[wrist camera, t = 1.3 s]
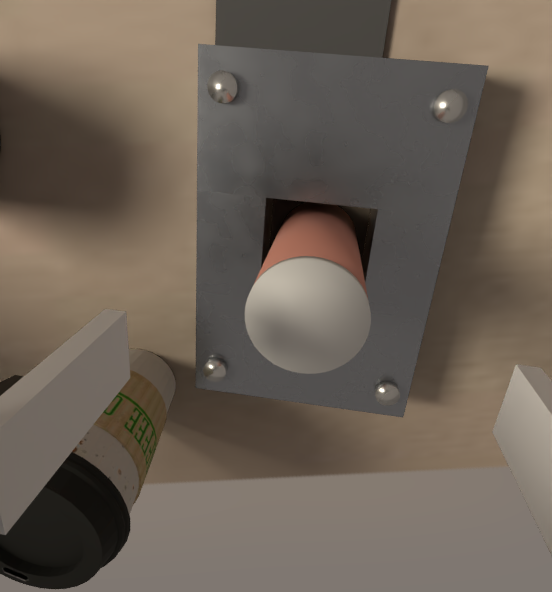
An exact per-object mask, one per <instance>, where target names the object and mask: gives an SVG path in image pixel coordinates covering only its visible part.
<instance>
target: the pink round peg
mask: <svg viewBox="0 0 552 592" xmlns="http://www.w3.org/2000/svg"><path fill="white" fill-rule="evenodd" d="M245 324H246V329H247V332H248V335H249V337H250V339H251V341H252V343H253V344H254V346H255V347H256V349H257V350H258V351H259V352H260V353H261V354H262V355H263V356H264V357H265V358H266V359H268V360H269V361H270V362H272V363H273V364H275V365H277V366H279V367H281V368H283V369H286V370H289V371H292V372H297V373H304V374H316V373H323V372H327V371H331V370H333V369H336V368H338V367H340V366H342V365H344V364H346V363H347V362H348V361H350V360H351V359H352V358H353V357H354V356H355V355H356V354H357V353H358V352H359V351H360V350H361V348H362V347H363V345H364V343H365V342H366V339H367V337H368V334H369V330H370V325H371V312H370V306H369V301H368V296H367V290H366V285H365V280H364V274H363V269H362V263H361V258H360V253H359V247H358V242H357V236H356V231H355V227H354V224H353V222H352V220H351V219H350V217H349V216H348V214H347V213H346V212H345V211H344V210H342V209H341V208H340V207H338V206H337V205H333V204H323V203H314V202H306V203H304V204H301V205H299V206H297V207H296V208H294V209H293V210H292V211H291V212H290V213H289V214H288V215H287V216H286V218H285V219H284V221H283V223H282V225H281V227H280V229H279V232H278V234H277V236H276V238H275V240H274V242H273V244H272V246H271V249H270V251H269V253H268V255H267V257H266V259H265V261H264V263H263V266H262V268H261V270H260V272H259V274H258V276H257V278H256V280H255V283H254V285H253V287H252V289H251V291H250V293H249V296H248V298H247V302H246V305H245Z"/></svg>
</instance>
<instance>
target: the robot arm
mask: <svg viewBox="0 0 552 592" xmlns="http://www.w3.org/2000/svg"><path fill="white" fill-rule="evenodd" d="M129 379H130V363H129V347H128V332H127V316H126V311H118V310H111V309H104V310H103V311H102V312H101V313H100V314H98V315H97V316H96V317H95V318H94V319H92V320H91V321H90V322H89V323H88V324H86V325H85V326H84V327H83V328H82V329H80V330H79V331H78V332H77V333H76V334H74V335H73V336H72V337H71V338H70V339H68V340H67V341H66V342H65V343H64V344H62V345H61V346H60V347H59V348H58V349H56V350H55V351H54V352H53V353H51V354H50V355H49V356H48V357H47V358H45V359H44V360H43V361H42V362H41V363H39V364H38V365H37V366H36V367H35V368H33V369H32V370H31V371H30V372H29V373H27V374H26V375H25V376H17V375H15V376H13V377H11V378H8V379H6V380H4V381H2V382H0V534H2V535H6V534H7V533H8V531H9V530H10V529H11V528H12V526H13V525H14V524H15V523H16V521H17V520H18V519H19V518H20V516H21V515H22V514H23V512H24V511H25V510H26V509H27V507H28V506H29V505H30V504H31V502H32V501H33V500H34V499H35V497H36V496H37V495H38V494H39V492H40V491H41V490H42V489H43V487H44V486H45V485H46V484H47V482H48V481H49V480H50V478H51V477H52V476H53V475H54V473H55V472H56V471H57V470H58V468H59V467H60V466H61V465H62V463H63V462H64V461H65V460H66V458H67V457H68V456H69V455H70V453H71V452H72V451H73V449H74V448H75V447H76V446H77V444H78V443H79V442H80V441H81V439H82V438H83V437H84V436H85V434H86V433H87V432H88V431H89V429H90V428H91V427H92V426H93V424H94V423H95V422H96V421H97V419H98V418H99V417H100V415H101V414H102V413H103V412H104V410H105V409H106V408H107V407H108V405H109V404H110V403H111V402H112V400H113V399H114V398H115V397H116V395H117V394H118V393H119V392H120V390H121V389H122V388H123V387H124V385H125V384H126V383H127V381H128V380H129ZM493 434H494V436H495V439H496V441H497V443H498V445H499V447H500V449H501V451H502V453H503V455H504V457H505V459H506V461H507V464H508V466H509V468H510V470H511V472H512V474H513V476H514V478H515V480H516V482H517V484H518V486H519V489H520V491H521V492H522V495H523V497H524V499H525V501H526V503H527V505H528V507H529V509H530V512H531V513H532V515H533V518H534V520H535V522H536V524H537V526H538V528H539V530H540V532H541V534H542V537H543V539H544V541H545V543H546V544H547V547H548V549H549V551H550V553H551V555H552V381H551V380H550V378H549V377H548V376H547V375H546V373H545V372H544V371H543V369H542V368H540V367H533V366H525V365H518V364H516V366H515V369H514V372H513V375H512V377H511V380H510V383H509V386H508V389H507V392H506V395H505V397H504V400H503V403H502V406H501V409H500V412H499V414H498V417H497V420H496V423H495V426H494V429H493Z"/></svg>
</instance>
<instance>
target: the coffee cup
mask: <svg viewBox="0 0 552 592" xmlns="http://www.w3.org/2000/svg"><path fill="white" fill-rule="evenodd" d="M129 363H130V379H129V380H128V381H127V383H126V384H125V385H124V387H123V388H122V389H121V390H120V392H119V393H118V394H117V395H116V397H115V398H114V399H113V400H112V402H111V403H110V404H109V405H108V407H107V408H106V409H105V410H104V412H103V413H102V414H101V415H100V417H99V418H98V419H97V421H96V422H95V423H94V424H93V426H92V427H91V428H90V429H89V431H88V432H87V433H86V434H85V436H84V437H83V438H82V439H81V441H80V442H79V443H78V444H77V446H76V447H75V448H74V449H73V451H72V452H71V453H70V455H69V456H68V457H67V458H66V460H65V461H64V462H63V463H62V465H61V466H60V467H59V468H58V470H57V471H56V472H55V473H54V475H53V476H52V477H51V478H50V480H49V481H48V482H47V484H46V485H45V486H44V487H43V489H42V490H41V491H40V492H39V494H38V495H37V496H36V497H35V499H34V500H33V501H32V502H31V504H30V505H29V506H28V507H27V509H26V510H25V511H24V512H23V514H22V515H21V516H20V518H19V519H18V520H17V521H16V523H15V524H14V525H13V526H12V528H11V529H10V530H9V531H8V533H7V534H6V535H2V534H0V574H2V575H4V576H6V577H8V578H11V579H12V580H15V581H18V582H20V583H23V584H26V585H30V586H34V587H39V588H47V589H66V588H70V587H75V586H78V585H80V584H83V583H85V582H87V581H88V580H89V579H90V578H92V577H93V576H94V575H95V574H96V573H97V572H98V570H99V569H100V568H102V567H104V566H105V565H106V564H108V563H109V562H110V561H111V560H113V559H114V558H115V557H116V555H117V554H118V552H120V550H121V549H122V547H123V546H124V544H125V543H126V541H127V539H128V536H129V532H130V516H129V514H130V511H131V509H132V506H133V504H134V503H135V501H136V500H137V498H138V496H139V494H140V491H141V488H142V486H143V483H144V480H145V477H146V475H147V472H148V469H149V466H150V464H151V461H152V458H153V455H154V453H155V450H156V447H157V444H158V441H159V439H160V436H161V433H162V430H163V428H164V425H165V421H166V415H167V412H168V410H169V407H170V404H171V402H172V399H173V396H174V393H175V390H176V382H175V377H174V375H173V372H172V370H171V369H170V367H169V366H168V365H167V364H166V362H165V361H164V360H162V359H161V358H160V357H159V356H157V355H155V354H153V353H151V352H149V351H146V350H142V349H129Z"/></svg>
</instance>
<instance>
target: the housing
mask: <svg viewBox="0 0 552 592" xmlns="http://www.w3.org/2000/svg"><path fill="white" fill-rule="evenodd" d="M487 70H488V66H484V65H471V64H457V63H444V62H431V61H418V60H404V59H391V58H378V57H365V56H351V55H338V54H325V53H312V52H298V51H285V50H272V49H259V48H245V47H232V46H219V45H206V44H198V143H197V278H196V388H200V389H207V390H214V391H221V392H228V393H235V394H242V395H249V396H256V397H264V398H271V399H278V400H285V401H292V402H299V403H306V404H313V405H320V406H327V407H334V408H341V409H348V410H355V411H362V412H369V413H376V414H383V415H390V416H397V417H403V416H404V412H405V408H406V403H407V399H408V395H409V391H410V387H411V383H412V379H413V375H414V371H415V366H416V362H417V358H418V354H419V350H420V346H421V342H422V338H423V333H424V329H425V325H426V321H427V317H428V313H429V309H430V305H431V301H432V296H433V292H434V288H435V284H436V280H437V276H438V272H439V268H440V264H441V259H442V255H443V251H444V247H445V243H446V239H447V235H448V231H449V226H450V222H451V218H452V214H453V210H454V206H455V202H456V198H457V194H458V189H459V185H460V181H461V177H462V173H463V169H464V165H465V161H466V157H467V152H468V148H469V144H470V140H471V136H472V132H473V128H474V124H475V119H476V115H477V111H478V107H479V103H480V99H481V95H482V91H483V87H484V82H485V78H486V74H487ZM274 198H275V199H285V200H294V201H304V202H314V203H323V204H333V205H343V206H352V207H362V208H371V209H370V215H369V221H368V227H367V233H366V239H365V245H364V251H363V257H362V269H363V274H364V280H365V285H366V290H367V296H368V301H369V306H370V312H371V325H370V330H369V334H368V337H367V339H366V342H365V343H364V345H363V347H362V348H361V350H360V351H359V352H358V353H357V354H356V355H355V356H354V357H353V358H352V359H351V360H350V361H348V362H347V363H346V364H344V365H342V366H340V367H338V368H336V369H333V370H331V371H327V372H323V373H316V374H304V373H297V372H292V371H289V370H286V369H283V368H281V367H279V366H277V365H275V364H273V363H272V362H270V361H269V360H268V359H266V358H265V357H264V356H263V355H262V354H261V353H260V352H259V351H258V350H257V349H256V347H255V346H254V344H253V343H252V341H251V339H250V337H249V335H248V332H247V329H246V324H245V305H246V302H247V298H248V296H249V293H250V291H251V289H252V287H253V285H254V283H255V280H256V278H257V276H258V274H259V272H260V270H261V268H262V266H263V263H264V261H265V259H266V257H267V255H268V253H269V251H270V239H271V226H272V213H273V200H274Z"/></svg>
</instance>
